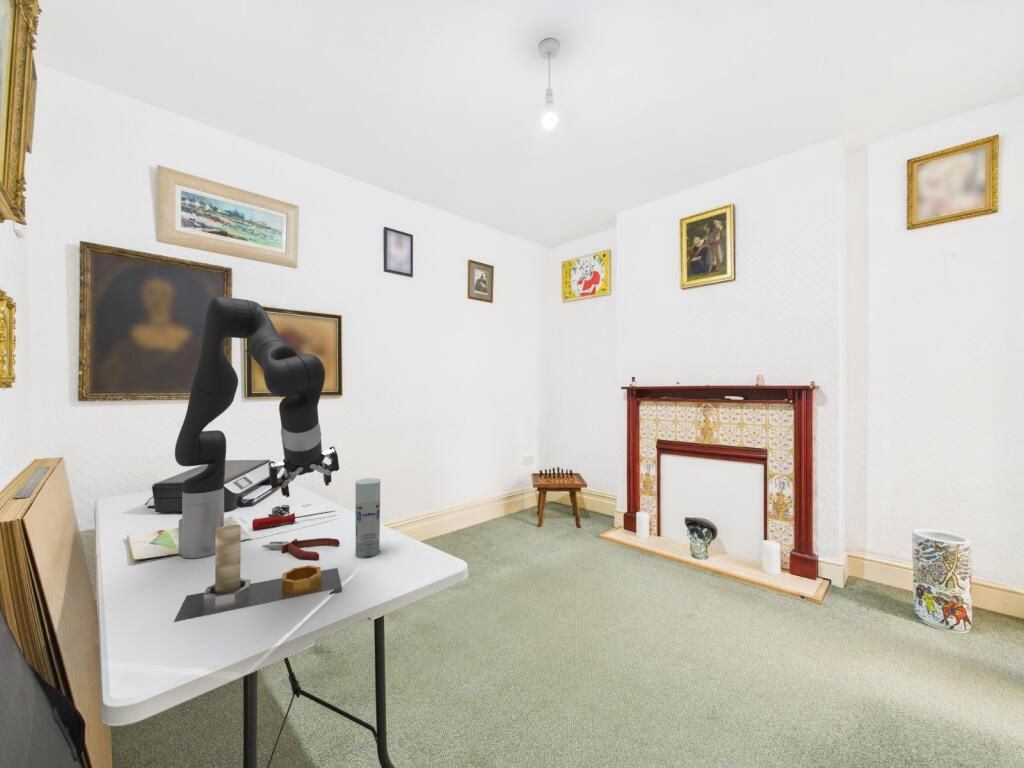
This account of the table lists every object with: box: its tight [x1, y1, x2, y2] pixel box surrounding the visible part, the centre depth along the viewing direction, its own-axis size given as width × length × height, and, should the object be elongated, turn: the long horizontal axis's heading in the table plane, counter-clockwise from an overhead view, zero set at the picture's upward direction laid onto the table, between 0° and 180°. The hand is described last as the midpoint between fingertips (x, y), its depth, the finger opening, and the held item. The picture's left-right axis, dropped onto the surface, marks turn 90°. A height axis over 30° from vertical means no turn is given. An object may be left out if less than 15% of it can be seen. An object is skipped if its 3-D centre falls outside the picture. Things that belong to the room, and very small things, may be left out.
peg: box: [214, 524, 242, 595], centre depth 88 cm, size 4×4×15 cm
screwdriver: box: [251, 510, 336, 531], centre depth 139 cm, size 4×25×4 cm, turn 126°
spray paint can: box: [355, 477, 381, 559], centre depth 114 cm, size 6×6×20 cm
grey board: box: [173, 565, 343, 623], centre depth 91 cm, size 30×11×4 cm, turn 118°
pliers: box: [261, 537, 341, 562], centre depth 116 cm, size 12×20×3 cm, turn 79°
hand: (307, 488), depth 98 cm, fingers open, 8 cm apart
